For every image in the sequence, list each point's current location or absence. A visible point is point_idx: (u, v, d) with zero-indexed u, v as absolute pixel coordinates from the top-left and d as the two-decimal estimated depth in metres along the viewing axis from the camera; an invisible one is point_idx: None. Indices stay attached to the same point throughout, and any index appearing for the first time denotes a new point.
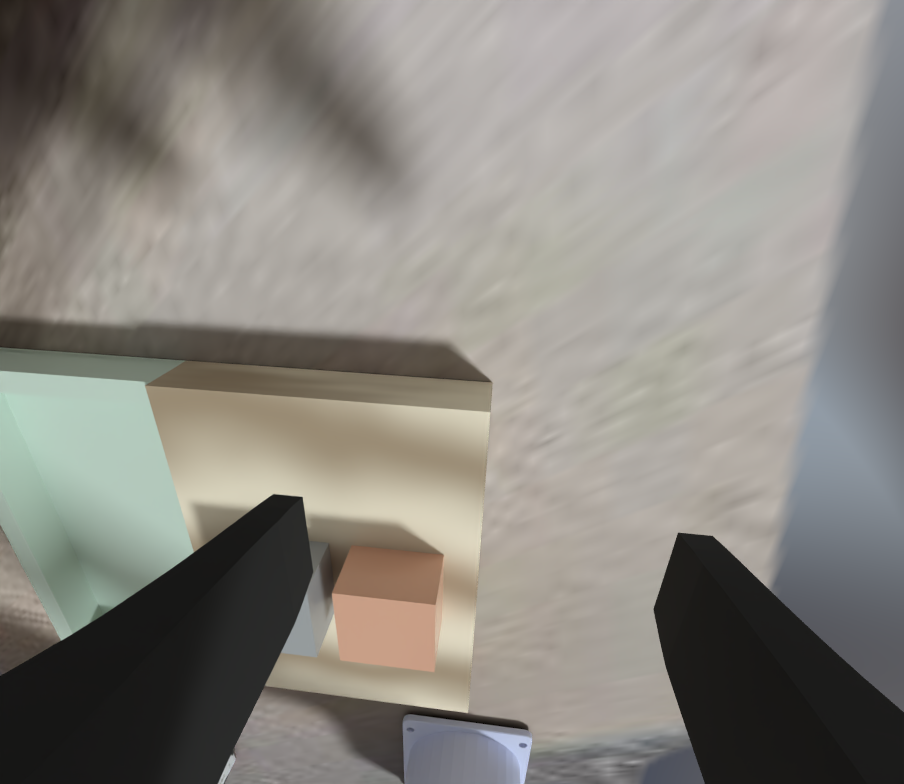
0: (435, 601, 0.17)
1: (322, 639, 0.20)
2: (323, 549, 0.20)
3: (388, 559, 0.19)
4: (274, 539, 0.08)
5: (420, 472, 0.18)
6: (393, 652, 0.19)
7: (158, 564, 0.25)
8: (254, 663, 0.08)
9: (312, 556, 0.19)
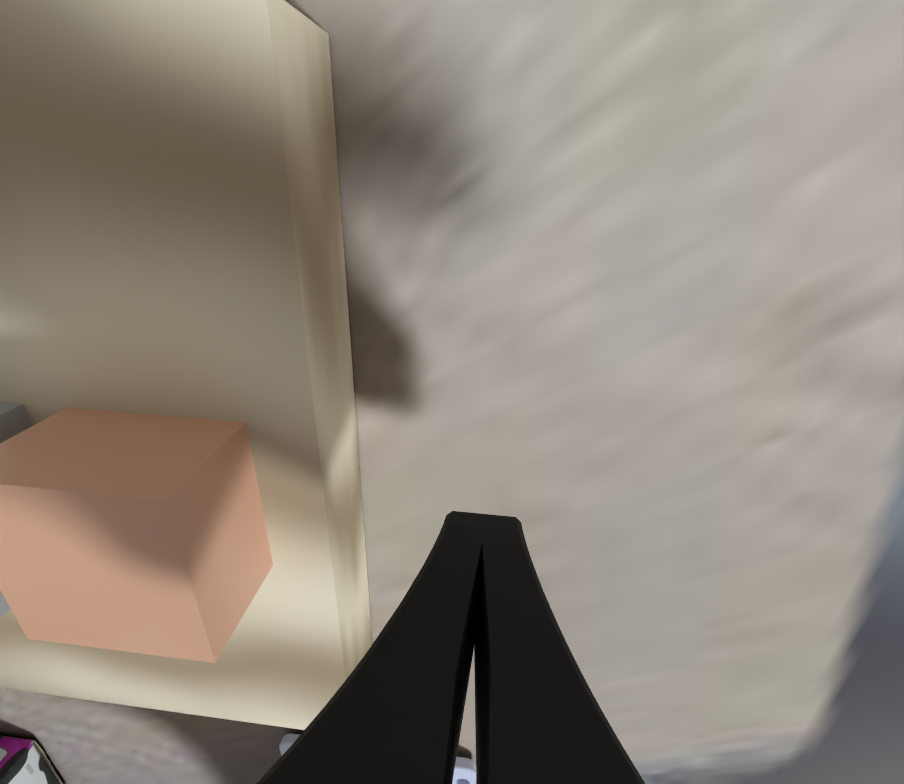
0: (170, 494, 0.07)
1: None
2: (0, 412, 0.10)
3: (124, 427, 0.09)
4: (479, 560, 0.08)
5: (147, 204, 0.08)
6: (120, 620, 0.09)
7: None
8: (464, 690, 0.07)
9: None
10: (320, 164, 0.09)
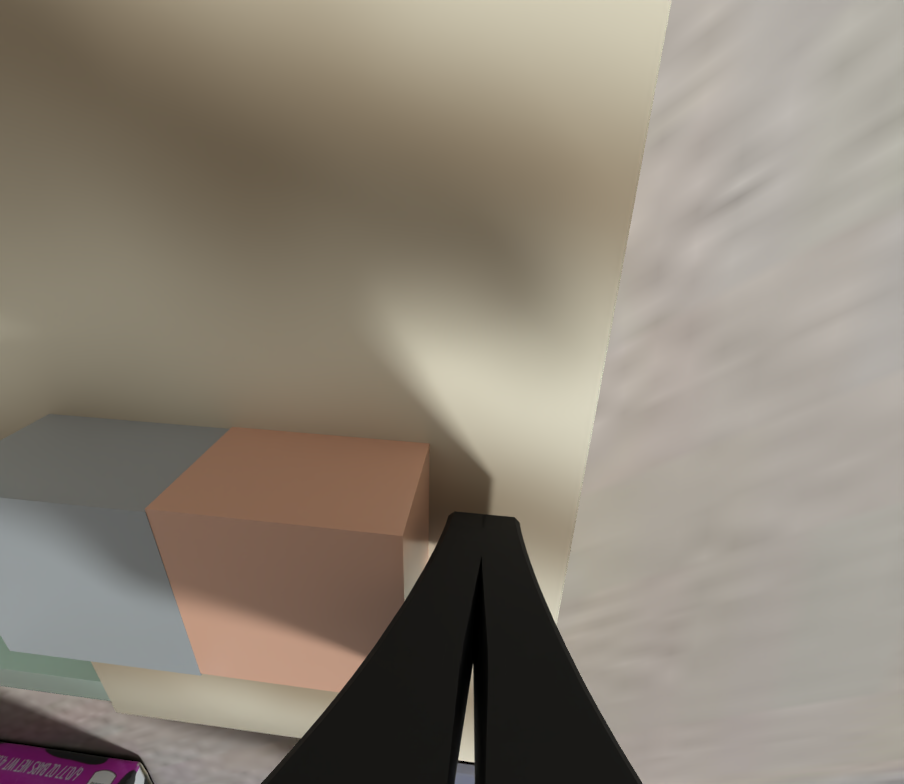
0: (402, 528, 0.07)
1: None
2: (216, 438, 0.09)
3: (305, 449, 0.09)
4: None
5: (461, 217, 0.07)
6: (311, 657, 0.08)
7: None
8: (466, 690, 0.07)
9: (187, 450, 0.09)
10: None
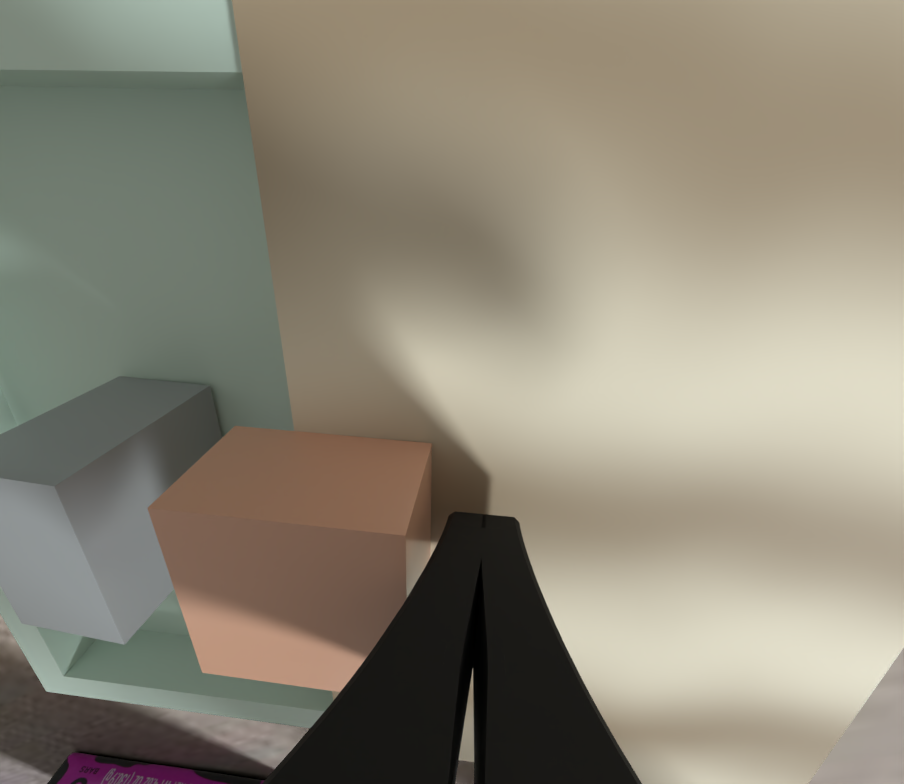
0: (405, 528, 0.07)
1: (46, 623, 0.10)
2: (39, 479, 0.08)
3: (308, 448, 0.09)
4: None
5: None
6: (313, 656, 0.08)
7: None
8: (467, 690, 0.07)
9: (37, 466, 0.08)
10: None
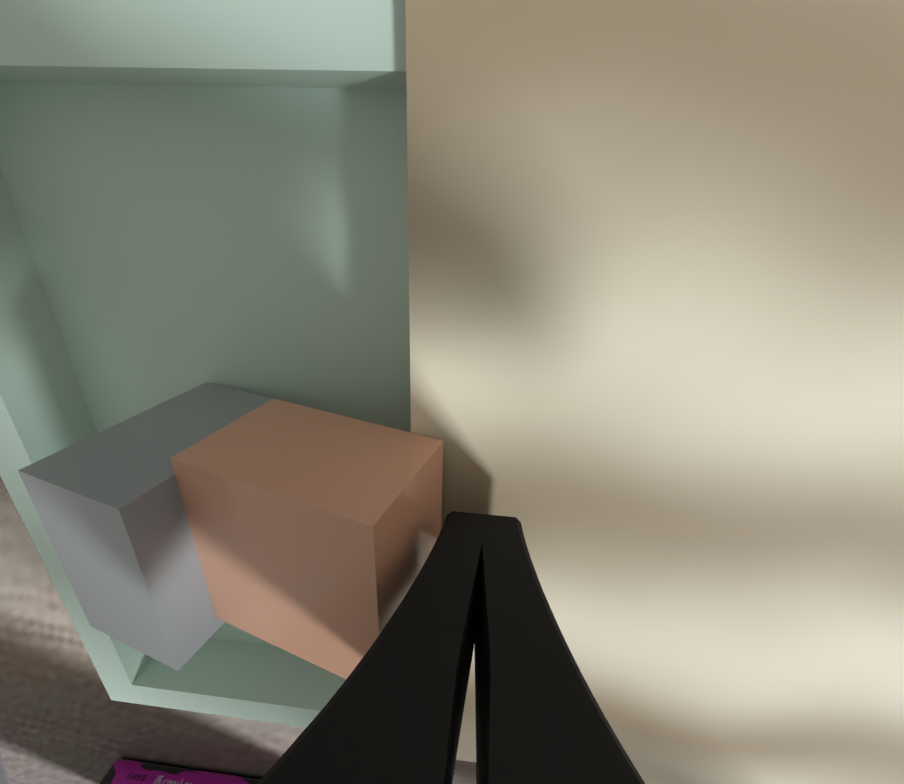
0: (377, 519, 0.07)
1: (110, 631, 0.09)
2: (106, 498, 0.07)
3: (325, 428, 0.09)
4: (480, 560, 0.08)
5: None
6: (300, 627, 0.08)
7: None
8: (463, 691, 0.07)
9: (109, 481, 0.08)
10: None
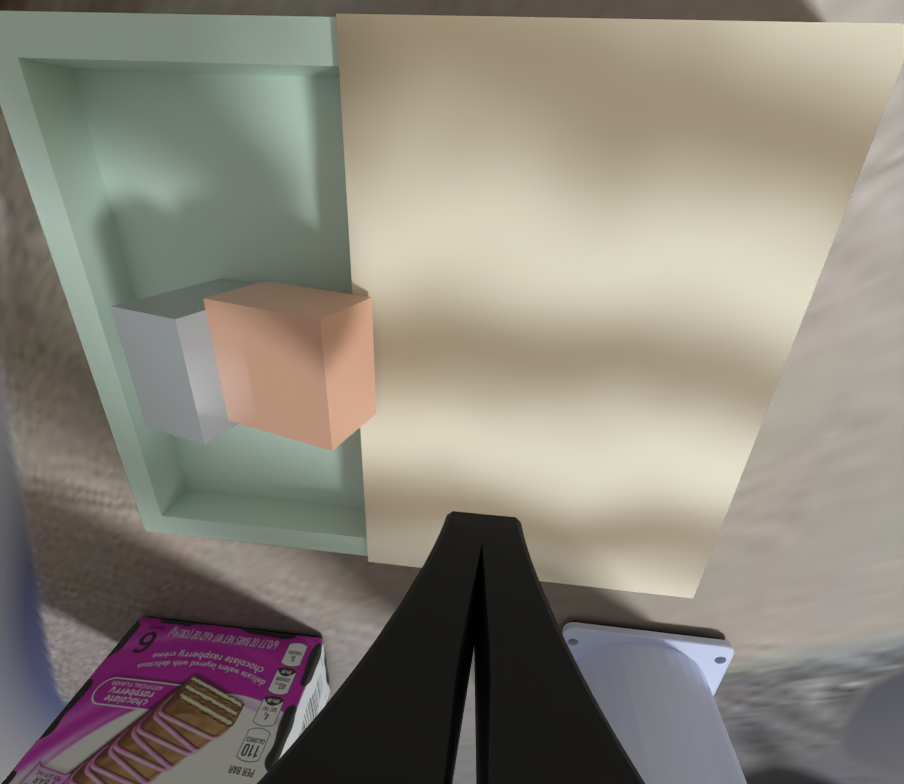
0: (323, 318, 0.12)
1: (160, 426, 0.15)
2: (167, 315, 0.13)
3: (298, 291, 0.14)
4: (480, 560, 0.08)
5: (753, 165, 0.12)
6: (281, 410, 0.14)
7: None
8: (463, 690, 0.07)
9: (166, 311, 0.13)
10: None
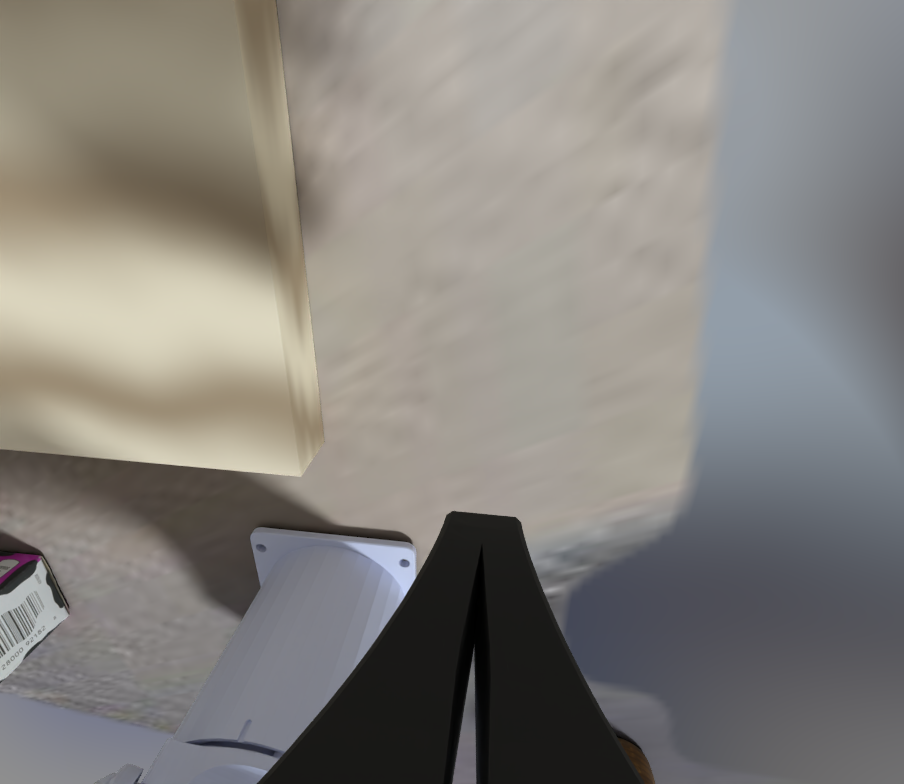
0: None
1: None
2: None
3: None
4: (480, 560, 0.08)
5: None
6: None
7: None
8: (463, 690, 0.07)
9: None
10: None
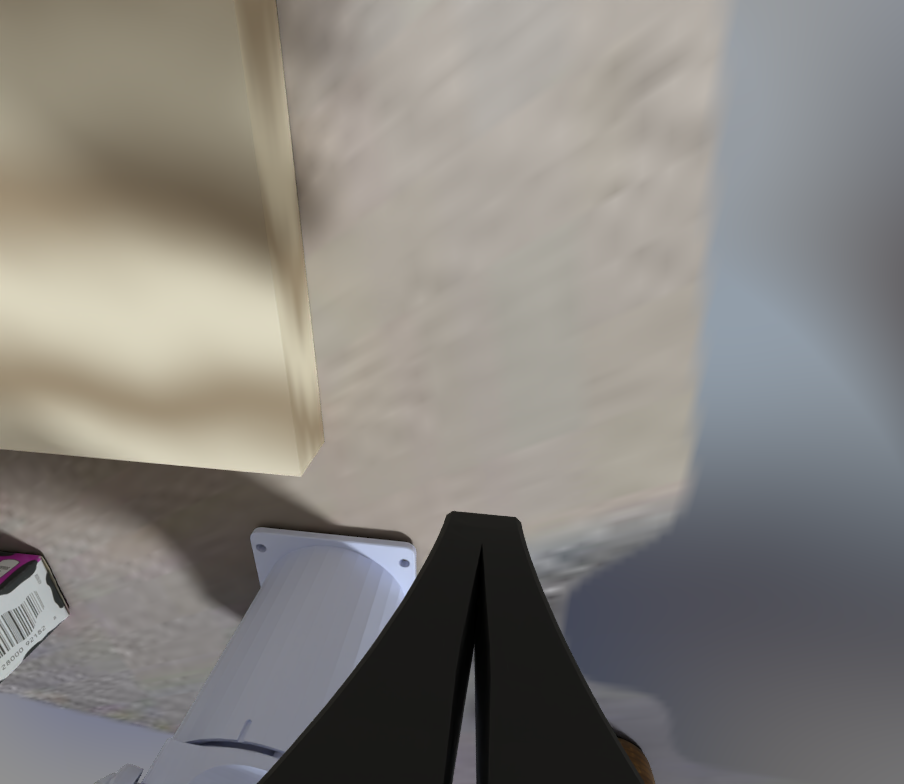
0: None
1: None
2: None
3: None
4: (480, 560, 0.08)
5: None
6: None
7: None
8: (463, 690, 0.07)
9: None
10: None
